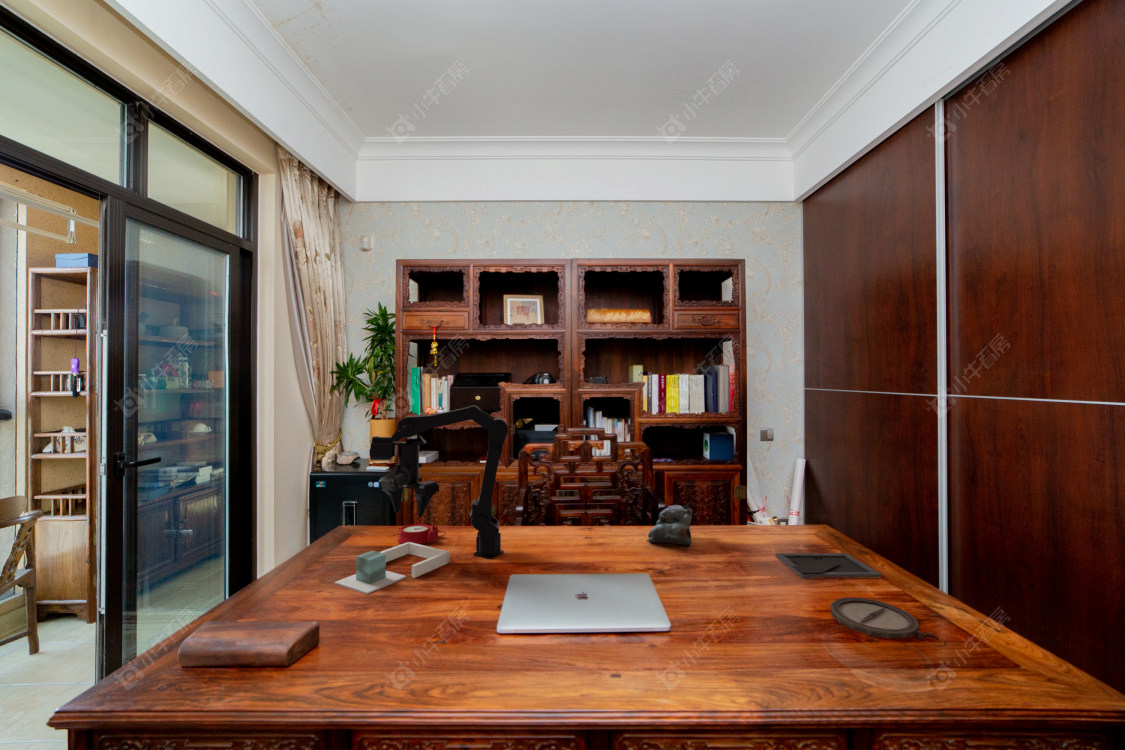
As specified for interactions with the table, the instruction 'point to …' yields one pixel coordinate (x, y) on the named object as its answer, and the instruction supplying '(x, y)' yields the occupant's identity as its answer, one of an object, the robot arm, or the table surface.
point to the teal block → (370, 567)
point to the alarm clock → (418, 534)
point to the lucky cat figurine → (673, 526)
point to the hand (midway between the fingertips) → (408, 514)
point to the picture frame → (826, 565)
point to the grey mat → (368, 588)
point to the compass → (875, 618)
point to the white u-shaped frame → (432, 554)
